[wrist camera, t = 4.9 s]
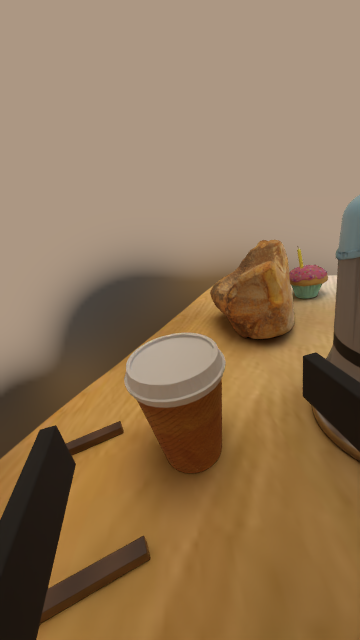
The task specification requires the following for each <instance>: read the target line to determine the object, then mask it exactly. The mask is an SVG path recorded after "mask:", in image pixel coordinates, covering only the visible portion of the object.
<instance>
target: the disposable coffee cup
mask: <svg viewBox="0 0 360 640" xmlns="http://www.w3.org/2000/svg"><path fill="white" fill-rule="evenodd" d="M224 370H225V358H224V355H223V354H222V352H221V351H220V350H219V349H218V347H217V345H216V343H215V342H214V341H213V340H212V339H211V338H209V337H207V336H205V335H201V334H197V333H177V334H171V335H167V336H162V337H159V338H156V339H154V340H152V341H149V342H147V343H146V344H144V345H142V346H141V347H139V348H138V349H137V350H136V351H135V352H133V353H132V355H131V356H130V357H129V359H128V361H127V364H126V375H125V378H124V381H125V386H126V388H127V390H128V392H129V393H130V394H131V395H132V396H133V397H134V398H135V399H137V401H138V403H140V404H139V405H140V406H141V408H142V410H143V412H144V414H145V416H146V417H147V418H146V419H147V420H148V422H149V424H150V426H151V428H152V430H153V432H154V434H155V436H156V438H157V440H158V441H159V444H160V445H161V448H162V449H163V451H164V453H165V455H166V457H167V459H168V461H169V463H170V464H171V465H172V466H173V467H174V468H175V469H176V470H179V471H181V472H184V473H197V472H201V471H204V470H206V469H208V468H209V467H211V466H212V465H213V464H214V463H215V462H216V461H217V459H218V458H219V456H220V453H221V449H222V382H221V378H222V376H223V372H224Z"/></svg>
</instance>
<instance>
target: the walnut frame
mask: <svg viewBox="0 0 360 640" xmlns="http://www.w3.org/2000/svg"><path fill="white" fill-rule="evenodd" d="M122 433H123V428H122V425H121V422H120V421H119V422H116V423H114V424H112V425H109V426H107V427H104V428H102V429H100V430H97V431H95V432H92V433H90V434H88V435H85V436H83V437H81V438H78V439H76V440H73V441H71V442H69V443H66V446H67V448H68V450H69V452H70V454H71V455H73V454H76V453H78V452H80V451H83V450H85V449H87V448H90V447H92V446H94V445H96V444H99V443H101V442H103V441H106V440H108V439H110V438H113V437H115V436H117V435H120V434H122ZM148 560H150V555H149V551H148V546H147V542H146V540H145V537H144V536H142V537H140V538H139V539H137V540H135V541H133V542H131V543H130V544H128V545H126V546H124V547H122V548H121V549H119V550H117V551H115V552H113V553H112V554H110V555H108V556H106V557H104V558H103V559H101V560H99V561H97V562H95V563H94V564H92V565H90V566H88V567H86V568H85V569H83V570H81V571H79V572H77V573H76V574H74V575H72V576H70V577H68V578H67V579H65V580H63V581H61V582H59V583H58V584H56V585H54V586H52V587H50V588H49V589H47V593H46V598H45V602H44V607H43V611H42V616H41V620H40V623H42V622H44V621H45V620H47V619H49V618H51V617H52V616H54V615H56V614H57V613H59V612H61V611H62V610H64V609H66V608H68V607H69V606H71V605H73V604H74V603H76V602H78V601H80V600H81V599H83V598H85V597H86V596H88V595H90V594H91V593H93V592H95V591H97V590H98V589H100V588H102V587H103V586H105V585H107V584H109V583H110V582H112V581H114V580H115V579H117V578H119V577H121V576H122V575H124V574H126V573H127V572H129V571H131V570H132V569H134V568H136V567H138V566H139V565H141V564H143V563H144V562H146V561H148Z"/></svg>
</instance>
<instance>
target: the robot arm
mask: <svg viewBox="0 0 360 640" xmlns="http://www.w3.org/2000/svg"><path fill="white" fill-rule="evenodd" d="M336 258H337V259H338V274H337V292H336V308H335V322H334V340H333V346H332V348H331V350H330V352H329V354H328V356H327V358H326V359H325V358H323V357H322V356H320V355H319V354H318V353H312V354H309V355H305V356H303V397H304V398H305V399H306V400H307V401H308V402H309V403H310V404H311V405H312V409H313V413H314V416H315V418H316V420H317V422H318V424H319V425H320V427H321V428H322V430H323V431H324V432H325V433H326V435H327V436H328V437H329V438H330V439H331V440H332V441H333V442H334V443H335V444H336V445H338V446H339V447H340V448H341V449H342V450H344V451H345V452H346V453H348V454H349V455H351V456H352V457H354V458H355V459H357V460H358V461H360V195H359V196H357V197H356V198H355V199H353V200H352V201H351V202H350V204H349V205H348V206H347V208H346V209H345V211H344V214H343V218H342V225H341V233H340V242H339V248H338V250H337V251H336ZM75 465H76V464H75V462H74V460H73V458H72V456H71V454H70V452H69V450H68V448H67V446H66V444H65V442H64V440H63V438H62V436H61V434H60V432H59V430H58V428H57V426H52V427H48V428H45V429H41V430H40V431H39V433H38V435H37V438H36V440H35V442H34V445H33V447H32V449H31V451H30V454H29V456H28V458H27V460H26V463H25V465H24V467H23V470H22V472H21V474H20V476H19V479H18V481H17V483H16V486H15V488H14V490H13V492H12V495H11V497H10V499H9V501H8V504H7V506H6V508H5V511H4V513H3V515H2V517H1V520H0V640H36V638H37V633H38V629H39V624H40V620H41V616H42V611H43V607H44V602H45V598H46V593H47V589H48V585H49V580H50V576H51V571H52V567H53V563H54V558H55V554H56V549H57V545H58V540H59V536H60V532H61V527H62V523H63V518H64V514H65V509H66V505H67V501H68V496H69V492H70V487H71V483H72V479H73V474H74V470H75Z"/></svg>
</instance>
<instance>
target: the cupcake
mask: <svg viewBox="0 0 360 640" xmlns="http://www.w3.org/2000/svg"><path fill="white" fill-rule="evenodd" d="M297 247H298V246H297ZM297 251H298V258H299V263H300V267H297V268H294V269H293V270H292V271H290V272H289V275H290V277H289V278H290V284H291V286H292V288H293V290H294V293H295V296H296V297H298V298H304V299H307V298H313V297H316V296H317V295H318V292H319V290H320V287H321V285H322V283H324V282H326V281H327V280H328V276H327V272H326V271H325V270H324V269H323V268H321V267H319V266H315V265H306V266H305V265H304V266H303V262H302V256H301V250H300V249H299V247H298V250H297Z"/></svg>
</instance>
